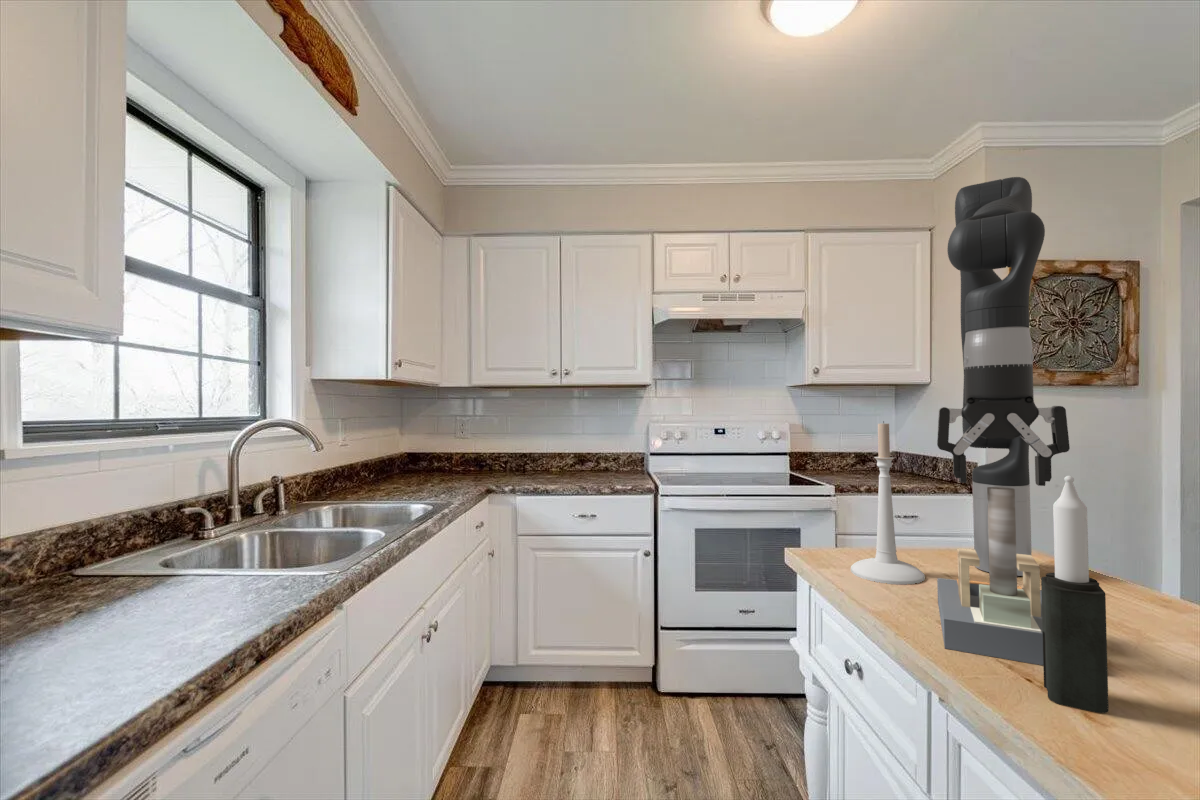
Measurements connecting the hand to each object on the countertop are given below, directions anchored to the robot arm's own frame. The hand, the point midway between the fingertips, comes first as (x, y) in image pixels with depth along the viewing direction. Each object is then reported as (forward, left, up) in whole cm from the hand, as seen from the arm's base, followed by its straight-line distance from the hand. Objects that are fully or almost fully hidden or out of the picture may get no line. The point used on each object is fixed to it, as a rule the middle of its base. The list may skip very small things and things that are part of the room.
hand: (1000, 483), depth 74 cm
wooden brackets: (-6, 0, -18) cm, 19 cm away
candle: (+11, +5, -23) cm, 26 cm away
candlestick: (-30, -15, -23) cm, 40 cm away
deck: (-7, 0, -22) cm, 23 cm away
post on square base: (0, 0, -18) cm, 18 cm away
